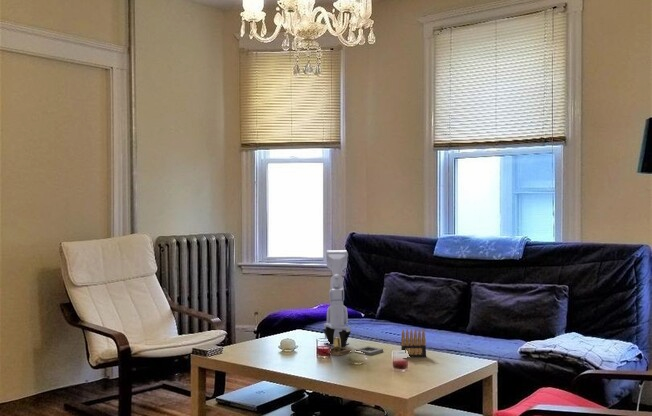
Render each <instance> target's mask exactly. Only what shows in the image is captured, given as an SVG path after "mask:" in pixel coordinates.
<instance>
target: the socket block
mask: <svg viewBox="0 0 652 416" xmlns="http://www.w3.org/2000/svg"><path fill="white" fill-rule="evenodd" d="M355 350H356V351H361V352H363V353H365V354H364V355H367V356H374V355H377V354H380V353H383V352H384V348H379V347H375V346H374V347H373V346H370V345H367V346H363V347H362V346H361V347H360V348H355V349H354V351H355Z"/></svg>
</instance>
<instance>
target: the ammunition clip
mask: <svg viewBox="0 0 652 416" xmlns="http://www.w3.org/2000/svg"><path fill="white" fill-rule="evenodd" d="M426 341H427V340H426V332H425V329H422V332H421V328H419V329H418V332H417V329H416V328H415V329H414V333H413V329H412V328H411V329H410V332H409V330H408V329H407V328H406V331H405V330H404V329H402V331H401V341H400V343H401V344H400V345H401V347H400V351H401V350H405V351H406V350H407V351H408V354H409V356H410V357H411V358H427V348H426V346H427V345H426Z"/></svg>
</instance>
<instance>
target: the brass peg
mask: <svg viewBox="0 0 652 416" xmlns="http://www.w3.org/2000/svg"><path fill="white" fill-rule="evenodd" d="M333 347H334V351H336V352H339V351H341V339H340V337H334V346H333Z"/></svg>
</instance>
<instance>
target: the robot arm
mask: <svg viewBox="0 0 652 416" xmlns="http://www.w3.org/2000/svg"><path fill="white" fill-rule="evenodd" d="M325 258H326V267H327V269H329V270H331V274H332V276H331V277H330V278H329V279H330V280H329V281H330V287H329V288H330V289H329V290H328V292H329V293H328V297H329V298H328V299H329V306H328V307H327V309H326V322H325V323H323V328H324V329H323V332H324V339H325V338H327V339H328V341H329V342H330V344H331V345H330V346H332V347H334V337H340V339H341V347H342V348H347V347H346V345H349V344H350V342H348V339H349V336H350V334H351V327H352V326H351V327H350V326H348V325H347V324H348V322H349V320H348V319H349V317H348V308H347V306H345V305H344V301H345V289H344V277H343V276H342V274H343V271H344V269H347V266H348V251H347V249H344V250H342V249H341V250H338V249H337V250H336V249H335V250H334V249H333V250H331V249H330V250H329V249H327V250H326V257H325Z"/></svg>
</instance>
